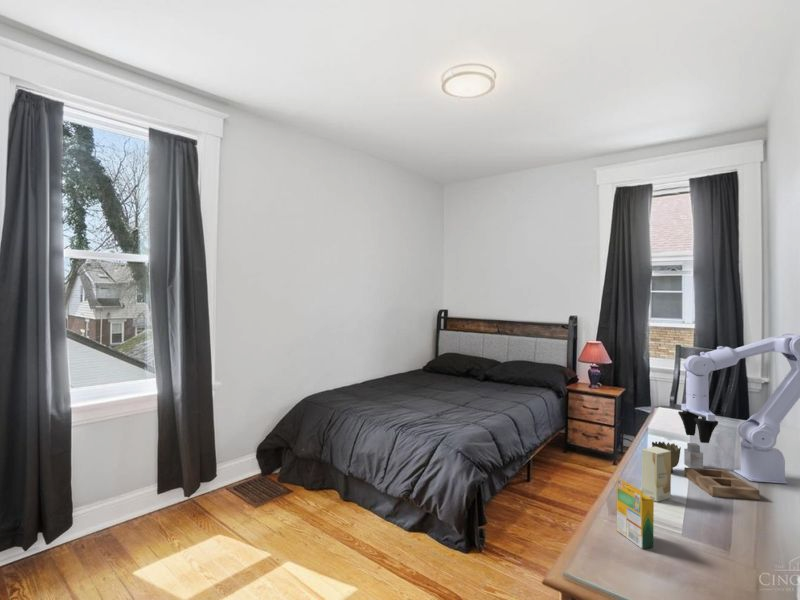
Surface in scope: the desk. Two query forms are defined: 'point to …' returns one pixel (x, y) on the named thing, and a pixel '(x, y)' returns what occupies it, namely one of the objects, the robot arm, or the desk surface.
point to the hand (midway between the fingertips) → (697, 438)
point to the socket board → (721, 483)
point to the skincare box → (656, 473)
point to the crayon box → (635, 514)
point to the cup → (674, 452)
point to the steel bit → (693, 456)
